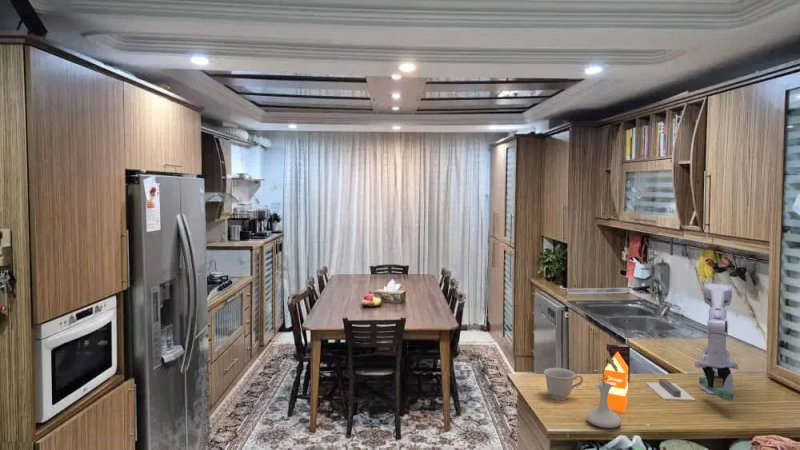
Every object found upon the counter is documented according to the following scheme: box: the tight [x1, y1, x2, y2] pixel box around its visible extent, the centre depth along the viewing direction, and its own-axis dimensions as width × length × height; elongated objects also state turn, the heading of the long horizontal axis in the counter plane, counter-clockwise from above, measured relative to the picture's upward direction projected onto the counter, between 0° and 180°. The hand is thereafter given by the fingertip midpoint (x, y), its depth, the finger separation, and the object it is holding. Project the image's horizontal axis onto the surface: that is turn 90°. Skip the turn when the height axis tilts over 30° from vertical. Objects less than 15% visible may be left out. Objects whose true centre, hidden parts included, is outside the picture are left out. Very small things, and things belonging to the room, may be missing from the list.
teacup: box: [543, 367, 584, 401], centre depth 198 cm, size 12×15×10 cm
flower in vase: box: [585, 350, 622, 429], centre depth 175 cm, size 13×11×25 cm
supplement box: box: [605, 343, 631, 384], centre depth 218 cm, size 9×5×16 cm, turn 84°
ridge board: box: [645, 378, 697, 402], centre depth 206 cm, size 12×18×3 cm, turn 175°
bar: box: [698, 375, 734, 402], centre depth 189 cm, size 18×3×6 cm, turn 175°
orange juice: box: [603, 352, 629, 413], centre depth 191 cm, size 8×9×20 cm
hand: (715, 386), depth 189 cm, fingers closed on bar, 3 cm apart
